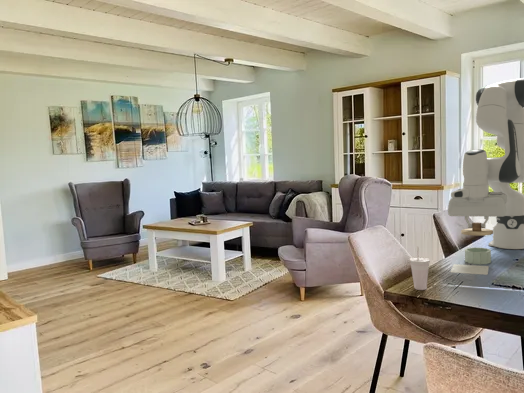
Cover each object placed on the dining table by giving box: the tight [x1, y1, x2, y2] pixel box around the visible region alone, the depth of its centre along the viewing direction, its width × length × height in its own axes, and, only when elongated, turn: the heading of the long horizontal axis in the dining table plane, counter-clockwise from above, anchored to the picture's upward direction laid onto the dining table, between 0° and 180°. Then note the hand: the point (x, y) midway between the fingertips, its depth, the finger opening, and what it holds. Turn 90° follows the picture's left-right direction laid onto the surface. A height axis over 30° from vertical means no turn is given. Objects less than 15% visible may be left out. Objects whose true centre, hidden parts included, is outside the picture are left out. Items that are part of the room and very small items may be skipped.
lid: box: [460, 221, 493, 237], centre depth 172 cm, size 11×11×4 cm
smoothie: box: [409, 246, 431, 291], centre depth 146 cm, size 6×6×14 cm
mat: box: [450, 263, 490, 276], centre depth 163 cm, size 12×12×1 cm
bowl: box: [464, 246, 492, 265], centre depth 173 cm, size 9×9×5 cm
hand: (476, 227), depth 172 cm, fingers closed on lid, 3 cm apart
